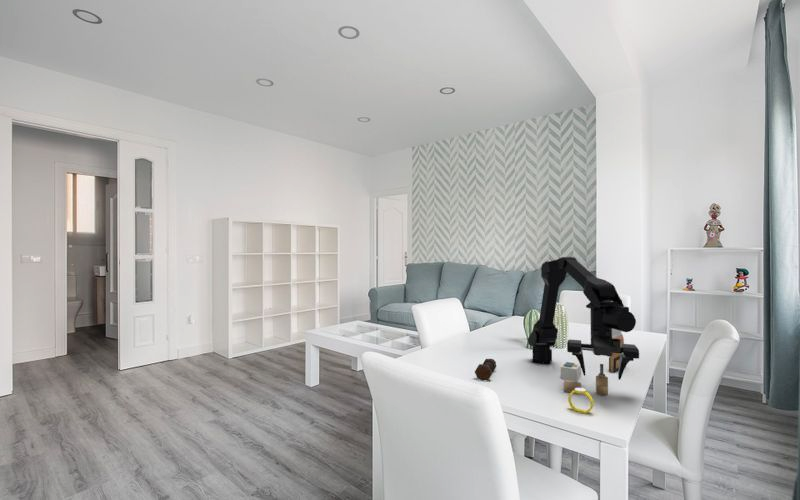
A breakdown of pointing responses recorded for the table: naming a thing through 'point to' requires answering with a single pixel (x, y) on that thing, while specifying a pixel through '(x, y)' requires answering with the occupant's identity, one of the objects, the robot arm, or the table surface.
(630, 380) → the table surface
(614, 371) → the ammunition clip
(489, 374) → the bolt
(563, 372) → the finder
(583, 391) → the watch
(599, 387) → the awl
